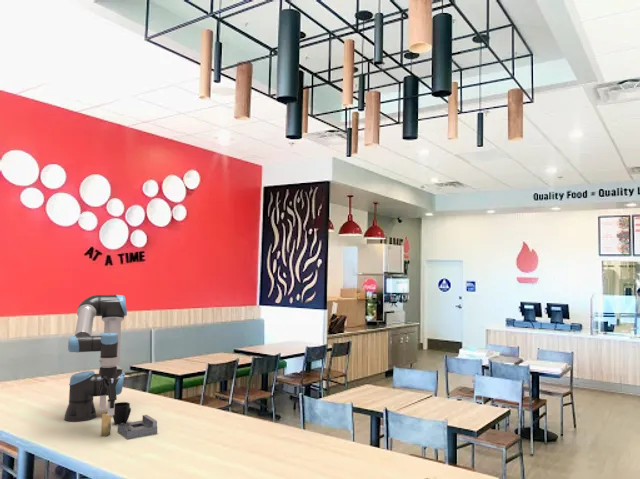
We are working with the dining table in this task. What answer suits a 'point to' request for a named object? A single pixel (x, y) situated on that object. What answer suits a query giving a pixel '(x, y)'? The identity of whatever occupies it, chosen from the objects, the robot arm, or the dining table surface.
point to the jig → (138, 428)
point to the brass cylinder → (105, 425)
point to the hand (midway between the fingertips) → (106, 412)
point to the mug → (121, 412)
